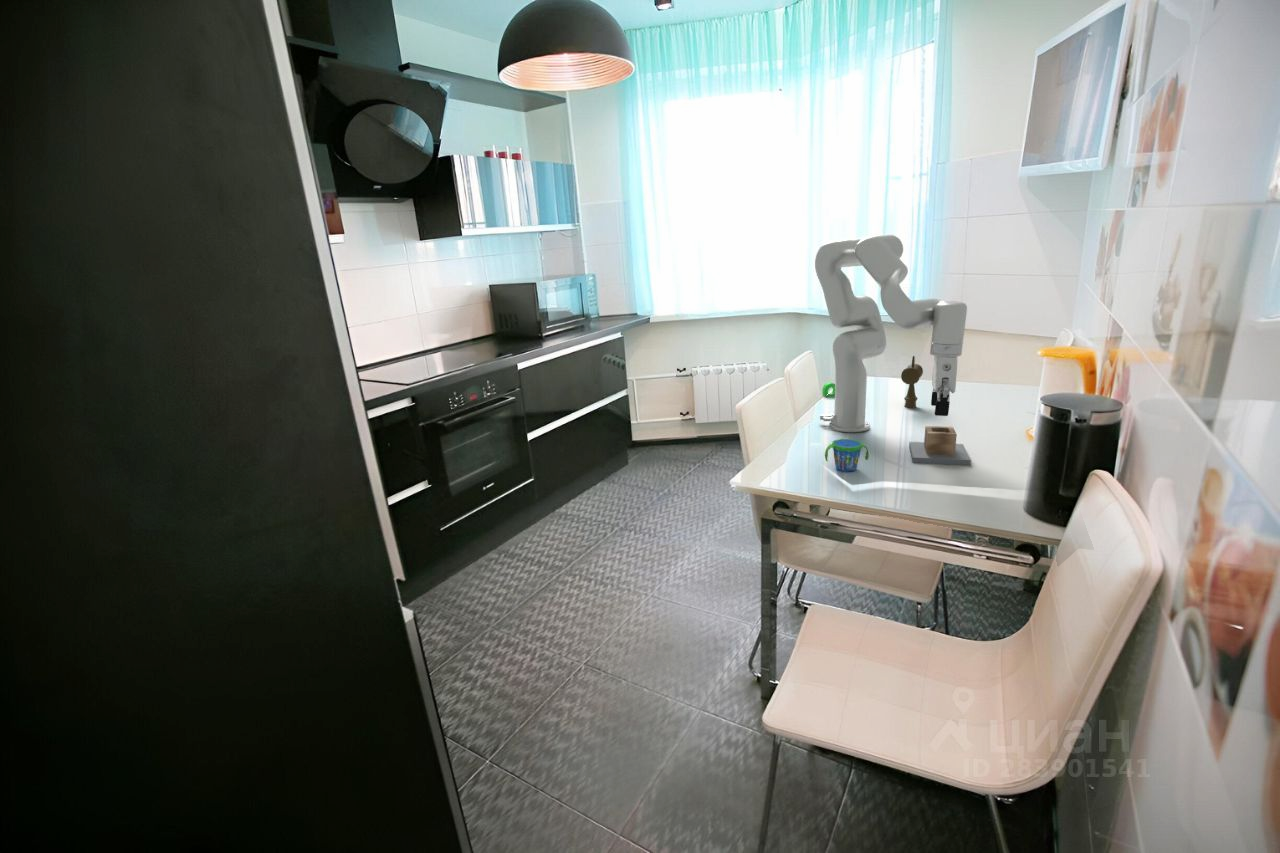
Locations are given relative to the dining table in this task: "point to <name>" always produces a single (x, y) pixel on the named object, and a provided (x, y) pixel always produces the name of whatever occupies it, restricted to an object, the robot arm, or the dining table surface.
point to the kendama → (911, 382)
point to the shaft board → (938, 455)
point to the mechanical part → (826, 388)
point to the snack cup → (846, 454)
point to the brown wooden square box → (940, 440)
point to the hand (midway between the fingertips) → (939, 410)
